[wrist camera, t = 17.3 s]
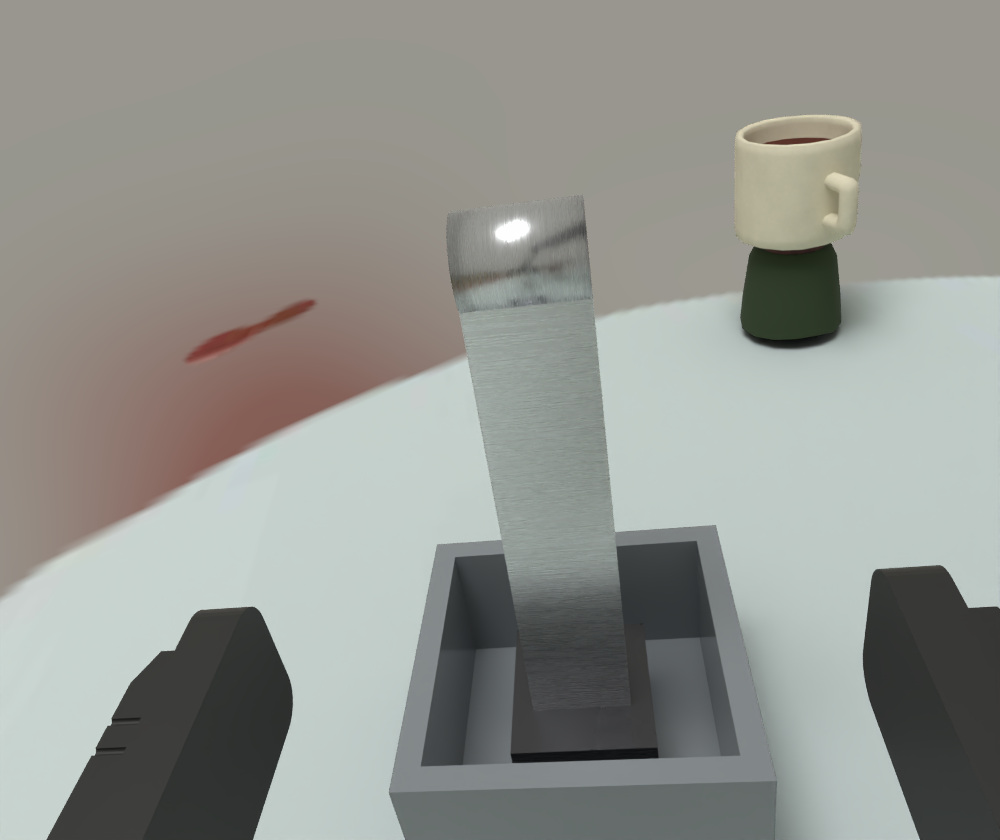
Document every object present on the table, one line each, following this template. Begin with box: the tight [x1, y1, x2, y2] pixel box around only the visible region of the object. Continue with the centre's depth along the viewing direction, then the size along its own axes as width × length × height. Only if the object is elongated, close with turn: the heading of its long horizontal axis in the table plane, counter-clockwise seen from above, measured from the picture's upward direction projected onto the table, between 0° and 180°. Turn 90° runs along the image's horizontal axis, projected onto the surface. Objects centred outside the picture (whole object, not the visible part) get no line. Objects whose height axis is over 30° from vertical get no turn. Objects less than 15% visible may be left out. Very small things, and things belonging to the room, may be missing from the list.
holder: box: [389, 525, 777, 840], centre depth 29 cm, size 11×11×6 cm
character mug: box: [735, 115, 862, 340], centre depth 52 cm, size 11×7×13 cm, turn 18°
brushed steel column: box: [447, 195, 659, 763], centre depth 25 cm, size 5×5×20 cm
